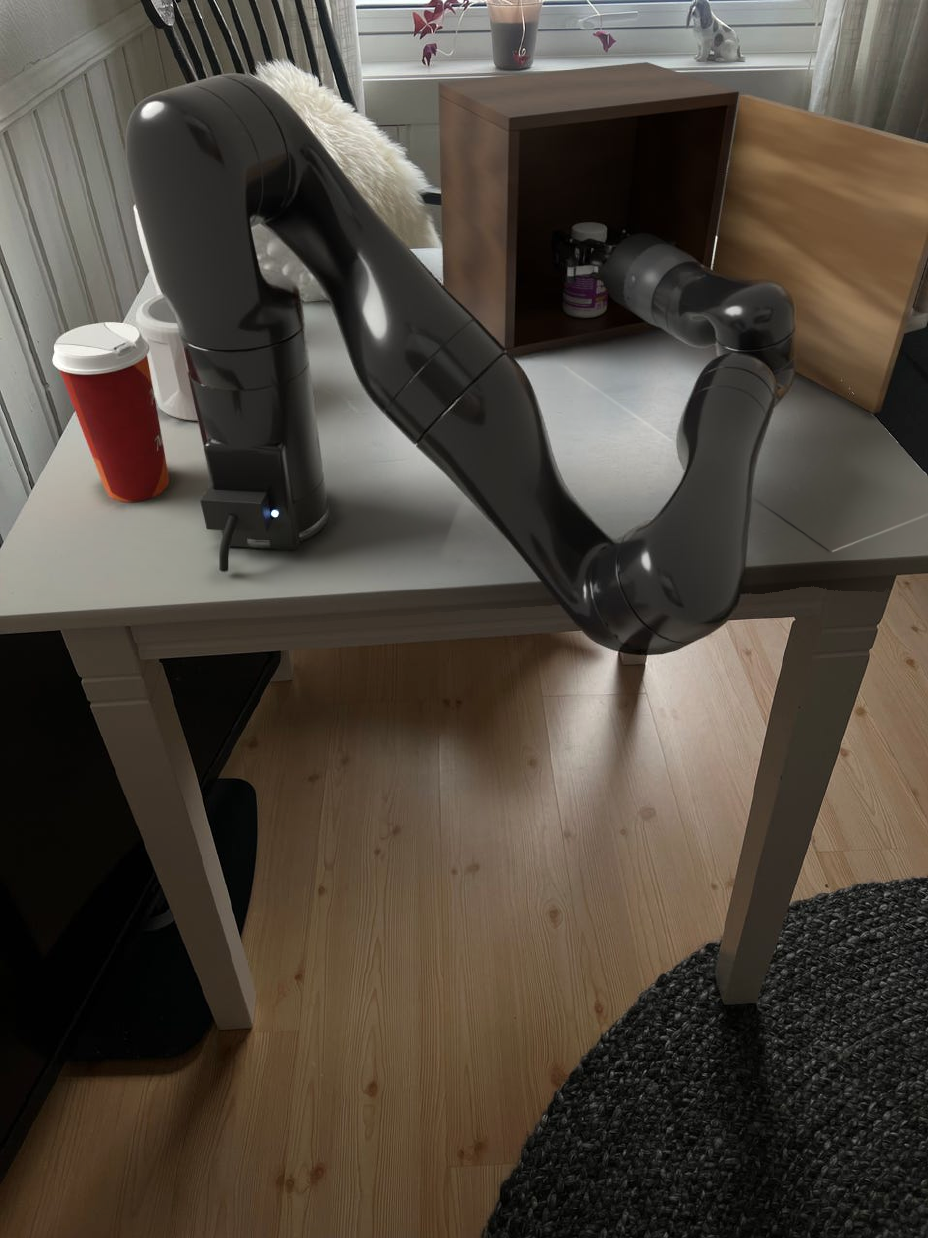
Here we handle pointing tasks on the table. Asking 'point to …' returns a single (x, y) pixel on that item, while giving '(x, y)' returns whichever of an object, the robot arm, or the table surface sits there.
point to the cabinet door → (831, 237)
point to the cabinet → (572, 185)
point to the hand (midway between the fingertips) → (578, 235)
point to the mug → (166, 358)
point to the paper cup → (115, 406)
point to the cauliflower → (285, 263)
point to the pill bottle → (586, 279)
